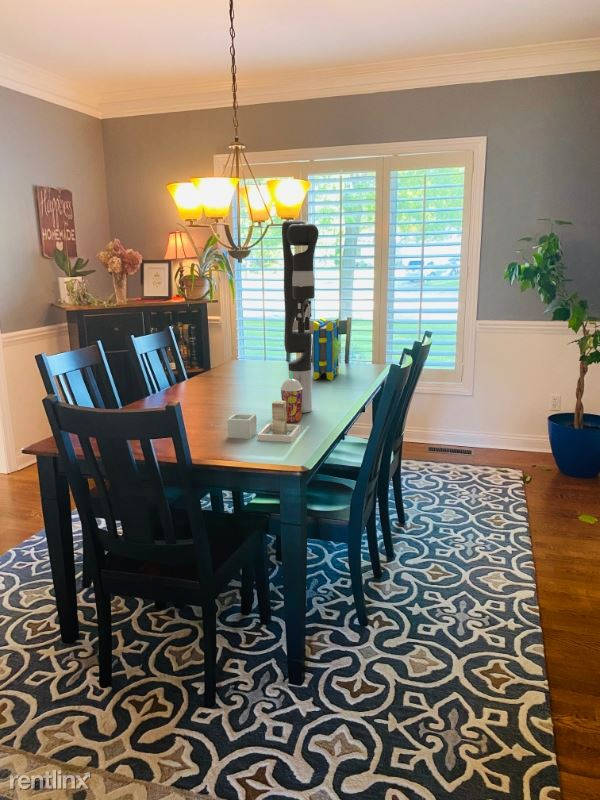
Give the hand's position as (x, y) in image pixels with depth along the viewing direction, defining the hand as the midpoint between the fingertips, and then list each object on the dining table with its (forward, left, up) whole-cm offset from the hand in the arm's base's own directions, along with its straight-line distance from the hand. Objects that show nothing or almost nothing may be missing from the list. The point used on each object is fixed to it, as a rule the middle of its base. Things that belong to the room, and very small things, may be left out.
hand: (304, 331), depth 206 cm
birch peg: (+10, -7, -35) cm, 37 cm away
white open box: (+12, -20, -36) cm, 43 cm away
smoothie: (-9, -7, -36) cm, 38 cm away
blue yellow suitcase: (-99, -10, -36) cm, 106 cm away
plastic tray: (+10, -7, -36) cm, 38 cm away
